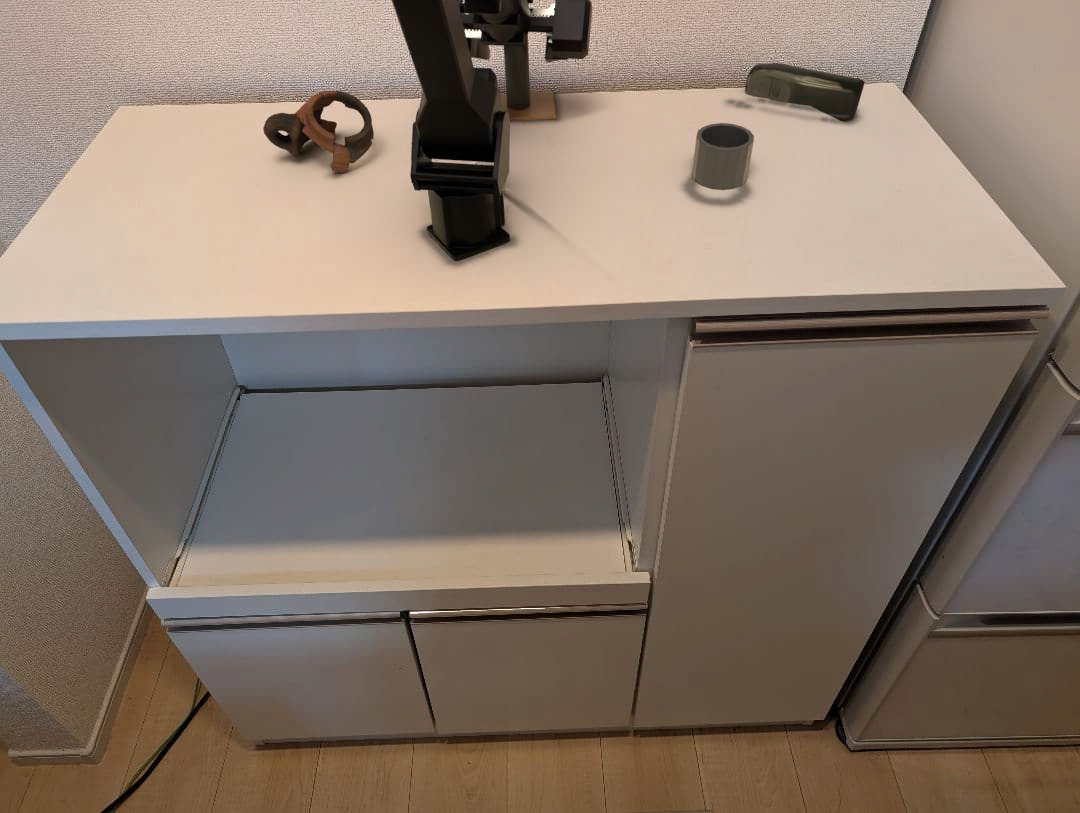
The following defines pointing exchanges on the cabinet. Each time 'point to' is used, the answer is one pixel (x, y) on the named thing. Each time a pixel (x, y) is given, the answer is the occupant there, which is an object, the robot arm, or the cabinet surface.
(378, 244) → the cabinet surface
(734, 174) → the pen pot
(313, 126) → the brown curved ring piece
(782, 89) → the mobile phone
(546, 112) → the cork pad
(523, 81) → the marker
